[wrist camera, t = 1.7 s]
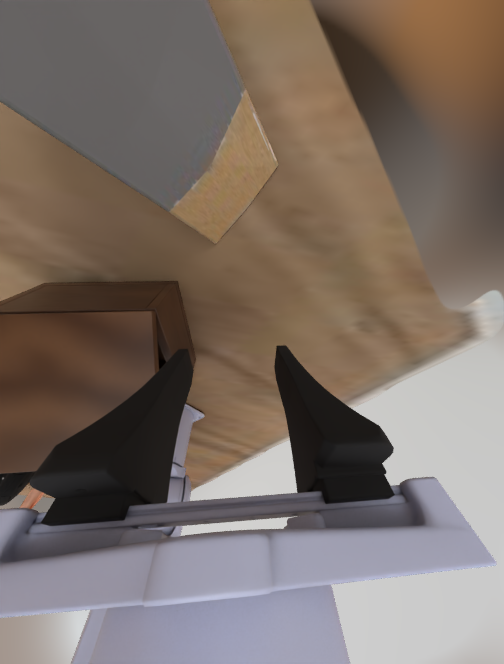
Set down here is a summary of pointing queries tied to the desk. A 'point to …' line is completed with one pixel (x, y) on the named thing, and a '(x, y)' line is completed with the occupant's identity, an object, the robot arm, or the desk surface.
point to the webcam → (13, 485)
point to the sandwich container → (141, 99)
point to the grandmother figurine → (32, 499)
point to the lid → (67, 376)
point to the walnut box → (114, 306)
